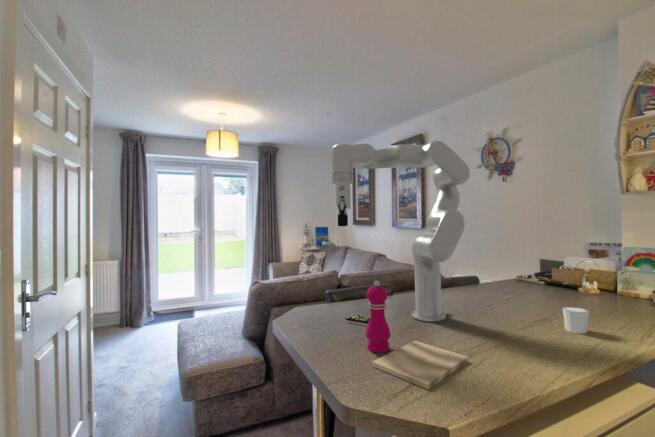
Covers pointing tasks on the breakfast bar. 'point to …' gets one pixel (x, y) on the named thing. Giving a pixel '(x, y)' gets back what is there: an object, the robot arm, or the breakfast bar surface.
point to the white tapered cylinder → (576, 319)
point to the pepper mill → (377, 320)
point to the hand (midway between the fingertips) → (343, 225)
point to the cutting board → (420, 363)
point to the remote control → (358, 319)
